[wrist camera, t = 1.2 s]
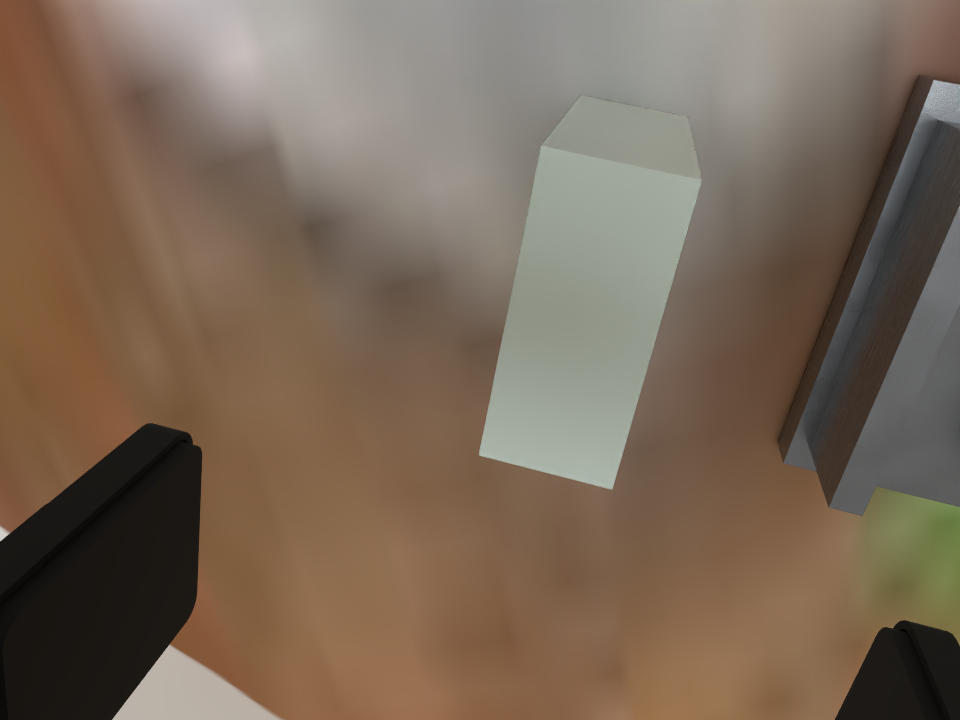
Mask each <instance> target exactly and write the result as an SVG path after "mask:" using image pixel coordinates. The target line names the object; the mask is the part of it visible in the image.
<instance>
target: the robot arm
mask: <svg viewBox="0 0 960 720" xmlns="http://www.w3.org/2000/svg"><path fill="white" fill-rule="evenodd" d="M201 473H202V451H201V448H200V447H199V446H196V445H193V441H192V438H191V435H190V434H189V433H187V432H183V431H180V430H176V429H172V428H168V427H164V426H161V425H157V424H153V423H148V424H146V425H144V426H142V427H141V428H140V429H139V430H137V431H136V432H135V433H134V434H133V435H131V436H130V437H129V438H128V439H126V440H125V441H124V442H123V443H122V444H120V445H119V446H118V447H117V448H115V449H114V450H113V451H112V452H111V453H109V454H108V455H107V456H106V457H104V458H103V459H102V460H101V461H100V462H98V463H97V464H96V465H95V466H93V467H92V468H91V469H90V470H88V471H87V472H86V473H85V474H84V475H82V476H81V477H80V478H79V479H77V480H76V481H75V482H74V483H73V484H71V485H70V486H69V487H68V488H66V489H65V490H64V491H63V492H62V493H60V494H59V495H58V496H57V497H55V498H54V499H53V500H52V501H51V502H49V503H48V504H46V505H44V506H43V507H42V508H41V509H40V510H38V511H37V512H36V513H35V514H33V515H32V516H31V517H30V518H29V519H27V520H26V521H25V522H24V523H22V524H21V525H20V526H19V527H17V528H16V529H15V530H14V531H13V532H11V533H10V534H9V535H8V536H6V537H5V538H4V539H3V540H2V541H0V720H112V719H113V718H114V716H115V715H116V714H117V712H118V711H119V710H120V708H121V707H122V706H123V704H124V703H125V702H126V700H127V699H128V698H129V697H130V695H131V694H132V692H133V691H134V690H135V689H136V687H137V686H138V685H139V683H140V682H141V681H142V680H143V678H144V677H145V676H146V674H147V673H148V671H149V670H150V669H151V668H152V666H153V665H154V664H155V662H156V661H157V660H158V658H159V657H160V656H161V655H162V653H163V652H164V651H165V649H166V648H167V647H168V645H169V644H170V643H171V641H172V640H173V639H174V638H175V636H176V635H177V634H178V632H179V631H180V630H181V628H182V627H183V626H184V624H185V623H186V622H187V620H188V619H189V617H190V615H191V613H192V611H193V608H194V605H195V602H196V597H197V580H198V553H199V526H200V500H201ZM835 720H960V646H959V644H958V642H957V640H956V638H955V637H954V636H953V634H951V633H949V632H948V631H944V630H940V629H936V628H932V627H929V626H925V625H921V624H917V623H913V622H909V621H906V620H904V621H900V622H898V623H897V624H896V625H895V626H894V628H893V629H891V628H887V627H885V628H882V629H881V630H880V631H879V632H878V634H877V635H876V637H875V639H874V642H873V644H872V646H871V648H870V650H869V652H868V654H867V656H866V658H865V660H864V662H863V664H862V666H861V668H860V670H859V672H858V674H857V676H856V678H855V680H854V682H853V684H852V686H851V688H850V690H849V692H848V694H847V696H846V698H845V700H844V702H843V704H842V706H841V708H840V710H839V712H838V714H837V716H836V718H835Z"/></svg>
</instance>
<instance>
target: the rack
mask: <svg viewBox="0 0 960 720" xmlns="http://www.w3.org/2000/svg"><path fill="white" fill-rule="evenodd" d="M778 445H779V449H780V453H781V456H782V460H783V463H784V464H788V465H792V466H796V467H800V468H804V469H808V470H812V471H817V473H818V476H819V479H820V483H821V486H822V489H823V492H824V495H825V498H826V501H827V504H828V507H829V508H833V509H837V510H841V511H844V512H848V513H852V514H856V515H860V516H863V514H864V512H865V509H866V507H867V505H868V503H869V501H870V499H871V496H872V494H873V492H874V490H875V488H876V486H877V487H881V488H885V489H889V490H893V491H897V492H901V493H905V494H909V495H913V496H918V497H922V498H926V499H930V500H934V501H938V502H942V503H946V504H950V505H954V506H958V507H960V83H956V82H951V81H946V80H941V79H935V78H930V77H925V76H920V75H919V77H918V79H917V82H916V84H915V87H914V90H913V92H912V95H911V97H910V100H909V103H908V105H907V108H906V110H905V113H904V116H903V118H902V121H901V123H900V126H899V129H898V131H897V134H896V136H895V139H894V142H893V144H892V147H891V149H890V152H889V155H888V157H887V160H886V162H885V165H884V168H883V170H882V173H881V175H880V178H879V181H878V183H877V186H876V188H875V191H874V194H873V196H872V199H871V201H870V204H869V207H868V209H867V212H866V214H865V217H864V220H863V222H862V225H861V227H860V230H859V233H858V235H857V238H856V240H855V243H854V246H853V248H852V251H851V253H850V256H849V259H848V261H847V264H846V266H845V269H844V272H843V274H842V277H841V279H840V282H839V285H838V287H837V290H836V292H835V295H834V298H833V300H832V303H831V305H830V308H829V311H828V313H827V316H826V318H825V321H824V324H823V326H822V329H821V331H820V334H819V337H818V339H817V342H816V344H815V347H814V350H813V352H812V355H811V357H810V360H809V363H808V365H807V368H806V370H805V373H804V376H803V378H802V381H801V383H800V386H799V389H798V391H797V394H796V396H795V399H794V402H793V404H792V407H791V409H790V412H789V415H788V417H787V420H786V422H785V425H784V428H783V430H782V433H781V435H780V438H779V441H778Z"/></svg>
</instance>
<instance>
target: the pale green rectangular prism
mask: <svg viewBox="0 0 960 720" xmlns="http://www.w3.org/2000/svg"><path fill="white" fill-rule="evenodd" d="M701 182H702V178H701V173H700V169H699V164H698V160H697V155H696V151H695V146H694V142H693V137H692V133H691V128H690V124H689V119H688V117H685V116H680V115H675V114H670V113H665V112H661V111H656V110H651V109H646V108H641V107H636V106H631V105H626V104H622V103H617V102H612V101H607V100H602V99H597V98H592V97H588V96H583V95H581V96H580V97H579V98H578V100H577V101H576V102H575V103H574V105H573V106H572V107H571V109H570V110H569V111H568V112H567V114H566V115H565V116H564V117H563V119H562V120H561V121H560V122H559V124H558V125H557V126H556V128H555V129H554V130H553V131H552V133H551V134H550V135H549V136H548V138H547V139H546V140H545V141H544V143H543V144H542V145H541V149H540V154H539V159H538V164H537V169H536V174H535V178H534V183H533V188H532V193H531V198H530V203H529V208H528V213H527V218H526V223H525V228H524V233H523V238H522V243H521V248H520V253H519V258H518V263H517V268H516V273H515V278H514V283H513V288H512V293H511V298H510V303H509V308H508V313H507V318H506V323H505V328H504V333H503V338H502V343H501V348H500V353H499V358H498V362H497V367H496V372H495V377H494V382H493V387H492V392H491V397H490V402H489V407H488V412H487V417H486V422H485V427H484V432H483V437H482V442H481V447H480V452H479V456H483V457H487V458H491V459H495V460H499V461H503V462H507V463H510V464H514V465H518V466H522V467H526V468H530V469H534V470H538V471H542V472H545V473H549V474H553V475H557V476H561V477H565V478H569V479H573V480H577V481H580V482H584V483H588V484H592V485H596V486H600V487H604V488H608V489H612V488H613V485H614V482H615V478H616V475H617V471H618V468H619V464H620V461H621V458H622V454H623V451H624V447H625V444H626V440H627V437H628V433H629V430H630V427H631V423H632V420H633V416H634V413H635V409H636V406H637V402H638V399H639V396H640V392H641V389H642V385H643V382H644V378H645V375H646V371H647V368H648V365H649V361H650V358H651V354H652V351H653V347H654V344H655V340H656V337H657V334H658V330H659V327H660V323H661V320H662V316H663V313H664V310H665V306H666V303H667V299H668V296H669V292H670V289H671V285H672V282H673V279H674V275H675V272H676V268H677V265H678V261H679V258H680V254H681V251H682V248H683V244H684V241H685V237H686V234H687V230H688V227H689V223H690V220H691V217H692V213H693V210H694V206H695V203H696V199H697V196H698V192H699V189H700V186H701Z"/></svg>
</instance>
